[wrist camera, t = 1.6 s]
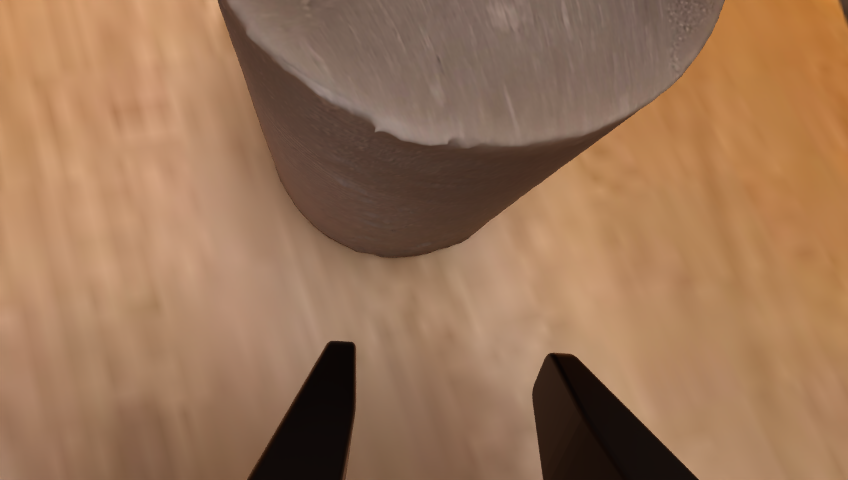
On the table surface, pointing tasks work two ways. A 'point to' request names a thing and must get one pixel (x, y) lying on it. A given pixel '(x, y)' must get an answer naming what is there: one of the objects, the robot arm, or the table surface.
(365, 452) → the table surface
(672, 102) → the table surface
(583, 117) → the pillar candle
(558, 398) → the robot arm
